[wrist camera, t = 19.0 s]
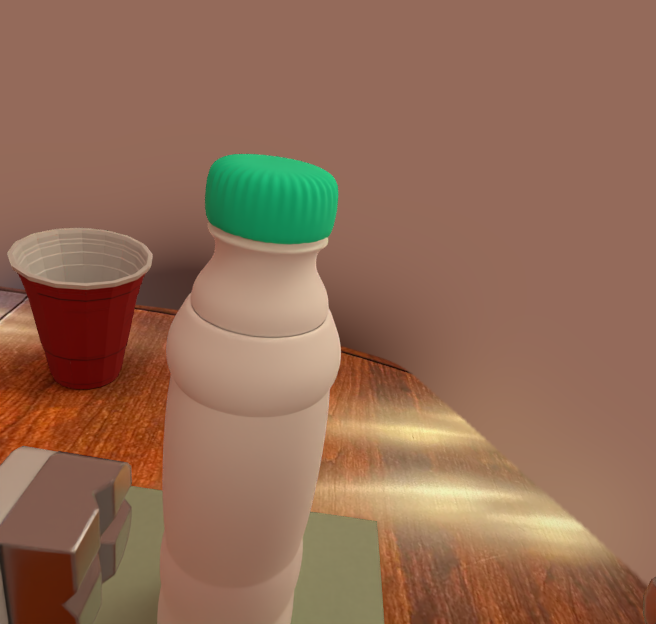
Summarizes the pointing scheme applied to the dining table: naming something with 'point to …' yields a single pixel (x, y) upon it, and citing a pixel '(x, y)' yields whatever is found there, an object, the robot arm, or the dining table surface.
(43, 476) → the robot arm
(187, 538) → the water bottle
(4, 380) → the dining table surface
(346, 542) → the mat
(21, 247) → the plastic cup
